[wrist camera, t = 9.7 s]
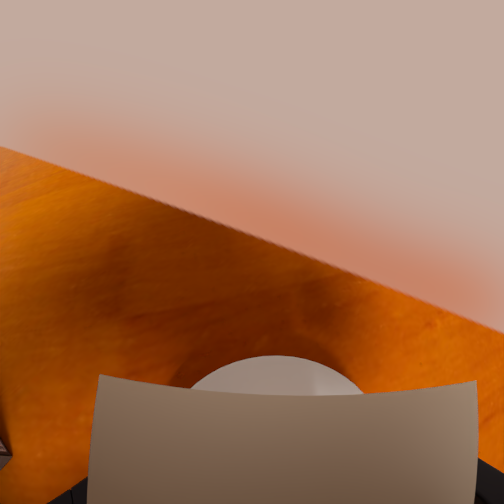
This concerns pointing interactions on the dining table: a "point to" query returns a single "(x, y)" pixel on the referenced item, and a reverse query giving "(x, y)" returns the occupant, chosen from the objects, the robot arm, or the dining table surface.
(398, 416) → the beech block
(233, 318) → the dining table surface
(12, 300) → the dining table surface
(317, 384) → the round base
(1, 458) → the coffee box
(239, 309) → the dining table surface
